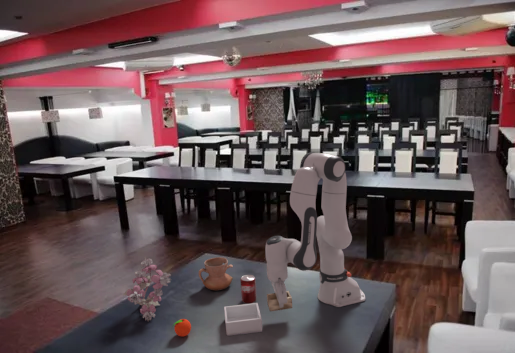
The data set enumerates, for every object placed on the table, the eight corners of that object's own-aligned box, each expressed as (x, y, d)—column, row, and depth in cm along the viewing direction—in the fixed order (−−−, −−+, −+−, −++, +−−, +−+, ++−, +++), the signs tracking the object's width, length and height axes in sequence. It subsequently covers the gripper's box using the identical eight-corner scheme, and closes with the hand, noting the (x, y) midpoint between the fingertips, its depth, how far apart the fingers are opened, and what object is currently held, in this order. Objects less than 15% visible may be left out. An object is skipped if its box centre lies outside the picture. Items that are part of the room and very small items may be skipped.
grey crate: (258, 314, 176) (257, 302, 175) (262, 331, 164) (261, 318, 162) (225, 318, 174) (224, 306, 173) (226, 336, 162) (225, 323, 161)
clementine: (174, 342, 159) (172, 327, 158) (171, 333, 166) (169, 318, 164) (193, 337, 162) (192, 321, 161) (189, 328, 169) (188, 313, 167)
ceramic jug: (233, 278, 213) (231, 254, 210) (235, 291, 199) (233, 265, 196) (200, 282, 211) (197, 258, 208) (200, 295, 197) (197, 269, 194)
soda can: (254, 304, 185) (253, 281, 182) (240, 303, 186) (238, 280, 184) (257, 297, 192) (256, 274, 189) (243, 296, 193) (242, 274, 191)
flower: (107, 316, 179) (117, 276, 168) (137, 288, 199) (147, 251, 188) (143, 338, 175) (155, 299, 164) (170, 308, 195) (182, 271, 185)
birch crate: (289, 301, 175) (288, 291, 174) (292, 308, 169) (291, 297, 168) (267, 304, 174) (266, 294, 172) (269, 311, 168) (268, 301, 167)
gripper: (289, 283, 158) (291, 314, 161) (280, 262, 178) (282, 290, 181) (274, 285, 157) (277, 316, 160) (266, 264, 177) (268, 292, 180)
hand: (279, 302), depth 171 cm, fingers closed on birch crate, 6 cm apart
